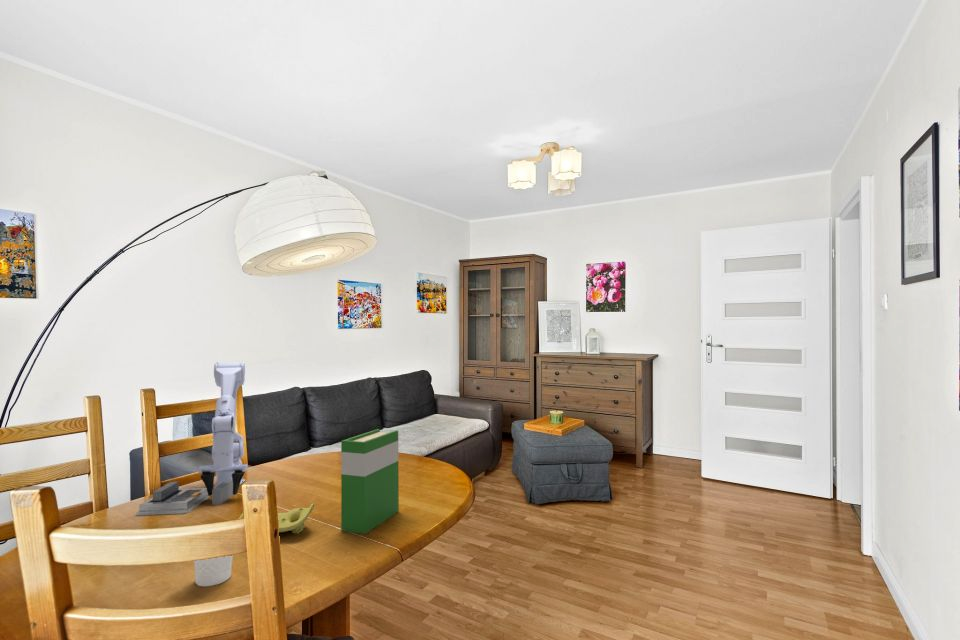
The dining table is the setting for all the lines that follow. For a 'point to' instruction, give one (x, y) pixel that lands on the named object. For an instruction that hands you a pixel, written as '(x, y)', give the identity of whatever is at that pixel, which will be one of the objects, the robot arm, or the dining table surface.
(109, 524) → the dining table surface
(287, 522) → the plastic component
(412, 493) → the dining table surface
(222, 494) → the panel
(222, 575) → the white cup
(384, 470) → the hardback book
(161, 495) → the rack
